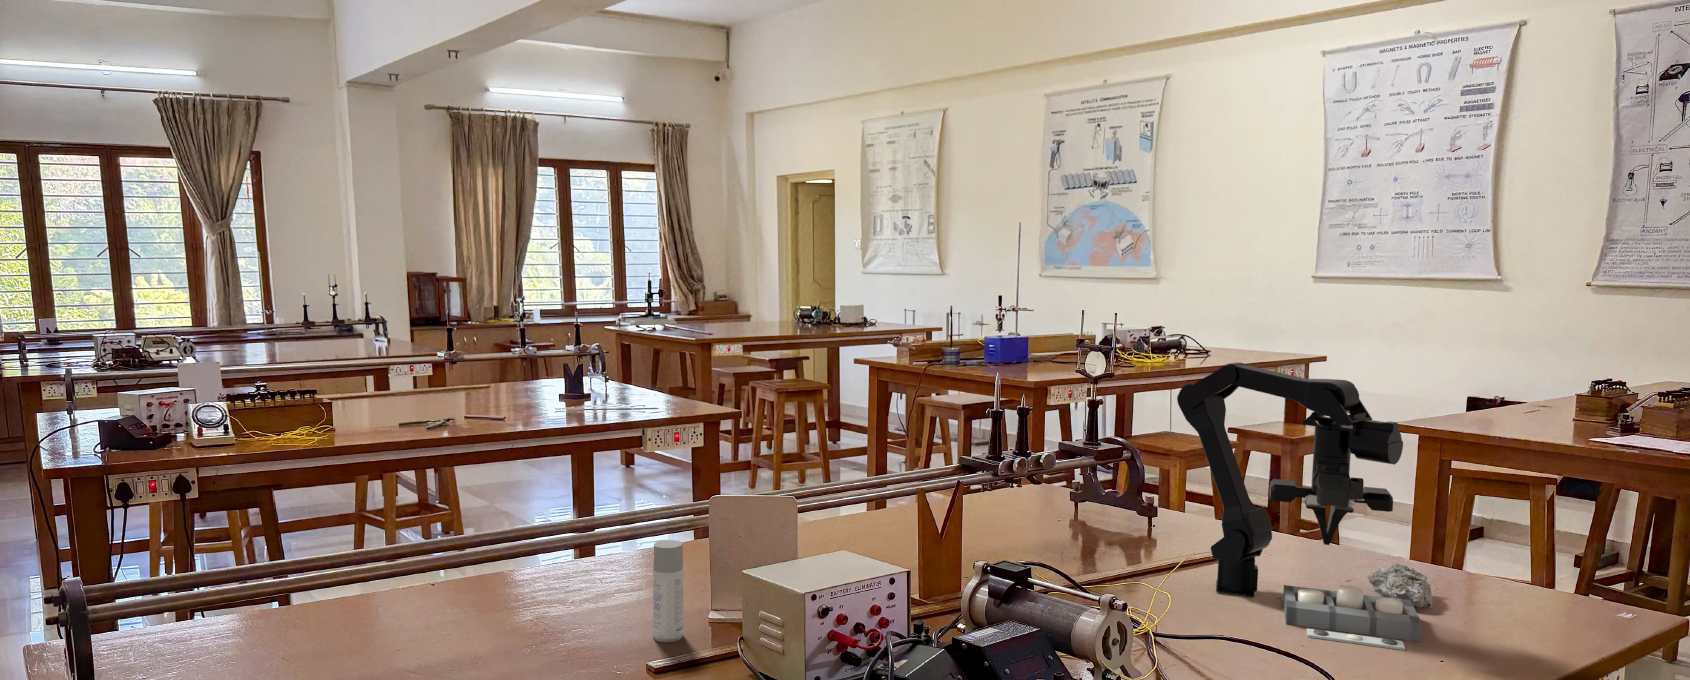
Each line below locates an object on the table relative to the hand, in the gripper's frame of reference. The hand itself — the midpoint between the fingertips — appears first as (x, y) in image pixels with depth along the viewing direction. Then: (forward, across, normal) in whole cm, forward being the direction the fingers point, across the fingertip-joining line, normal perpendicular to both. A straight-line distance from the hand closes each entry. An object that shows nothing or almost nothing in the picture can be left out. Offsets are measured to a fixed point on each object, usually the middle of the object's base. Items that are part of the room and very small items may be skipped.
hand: (1326, 544), depth 176 cm
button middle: (+11, +4, -1) cm, 11 cm away
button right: (+12, +10, -1) cm, 16 cm away
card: (+12, +4, -10) cm, 17 cm away
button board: (+12, +4, -1) cm, 13 cm away
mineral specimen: (+13, +14, +14) cm, 24 cm away
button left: (+12, -2, -1) cm, 12 cm away
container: (+13, -98, -52) cm, 112 cm away
